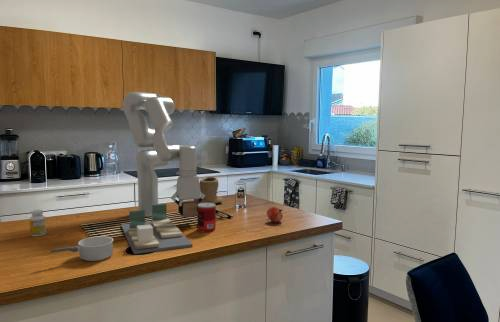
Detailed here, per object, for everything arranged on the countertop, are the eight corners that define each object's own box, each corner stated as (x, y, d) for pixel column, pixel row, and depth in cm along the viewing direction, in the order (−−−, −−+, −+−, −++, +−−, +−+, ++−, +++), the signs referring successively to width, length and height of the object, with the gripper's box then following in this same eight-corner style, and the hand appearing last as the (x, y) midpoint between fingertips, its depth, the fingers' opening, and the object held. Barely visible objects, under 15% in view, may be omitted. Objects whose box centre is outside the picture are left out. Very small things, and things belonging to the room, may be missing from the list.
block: (137, 238, 146) (136, 225, 146) (150, 237, 148) (150, 224, 148) (139, 242, 142) (139, 229, 141) (153, 241, 144) (153, 227, 143)
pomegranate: (265, 227, 180) (279, 217, 174) (258, 213, 183) (273, 203, 177) (275, 226, 186) (289, 216, 180) (268, 212, 188) (283, 202, 183)
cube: (180, 214, 176) (180, 201, 176) (193, 212, 179) (192, 200, 178) (183, 217, 171) (183, 203, 170) (196, 216, 174) (196, 202, 173)
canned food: (218, 227, 171) (218, 203, 169) (211, 233, 163) (211, 207, 162) (201, 226, 173) (201, 201, 172) (194, 231, 165) (194, 205, 164)
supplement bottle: (31, 233, 159) (30, 209, 158) (46, 232, 161) (45, 209, 160) (29, 237, 154) (28, 213, 153) (44, 235, 156) (43, 212, 155)
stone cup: (202, 207, 208) (202, 179, 206) (194, 202, 219) (194, 176, 217) (227, 204, 215) (228, 177, 214) (219, 200, 226) (219, 174, 224)
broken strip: (127, 230, 160) (126, 211, 159) (146, 228, 164) (146, 209, 163) (136, 249, 138) (136, 227, 137) (159, 246, 142) (159, 225, 141)
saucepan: (46, 261, 129) (45, 245, 129) (106, 249, 142) (106, 234, 142) (56, 272, 121) (55, 255, 120) (119, 257, 134) (118, 242, 133)
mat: (121, 226, 170) (121, 224, 170) (169, 221, 179) (169, 219, 179) (134, 254, 137) (134, 251, 137) (192, 246, 146) (192, 244, 146)
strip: (150, 222, 173) (149, 204, 172) (167, 220, 177) (167, 203, 176) (162, 238, 151) (161, 218, 150) (182, 235, 154) (182, 216, 153)
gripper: (170, 176, 166) (171, 217, 168) (209, 173, 173) (209, 213, 175) (166, 173, 173) (167, 213, 175) (203, 171, 180) (204, 210, 182)
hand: (188, 213), depth 175 cm, fingers closed on cube, 6 cm apart
